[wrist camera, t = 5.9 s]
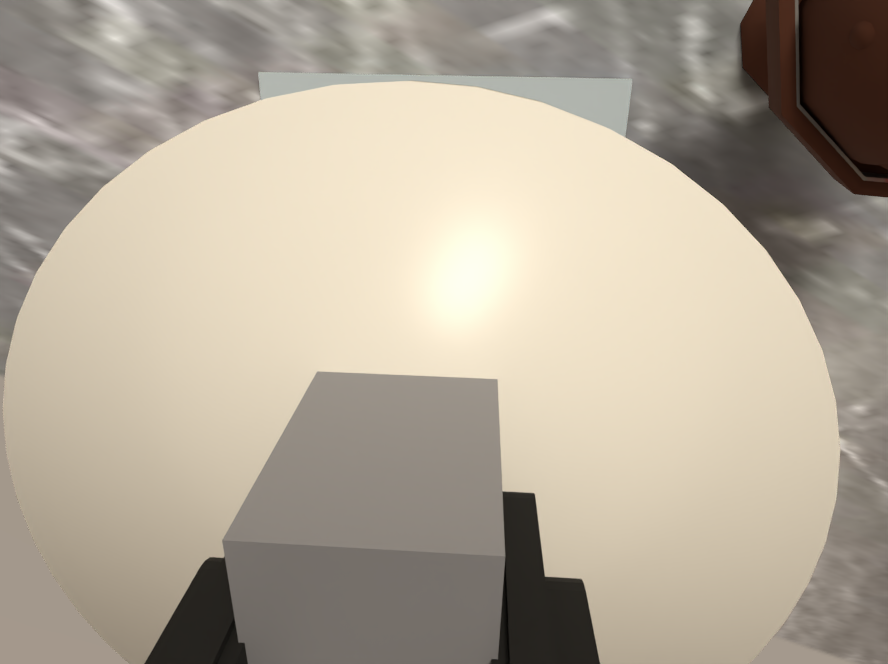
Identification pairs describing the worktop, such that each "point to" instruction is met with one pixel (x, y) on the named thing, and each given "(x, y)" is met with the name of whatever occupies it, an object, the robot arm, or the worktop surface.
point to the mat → (573, 95)
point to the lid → (419, 386)
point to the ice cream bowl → (826, 81)
